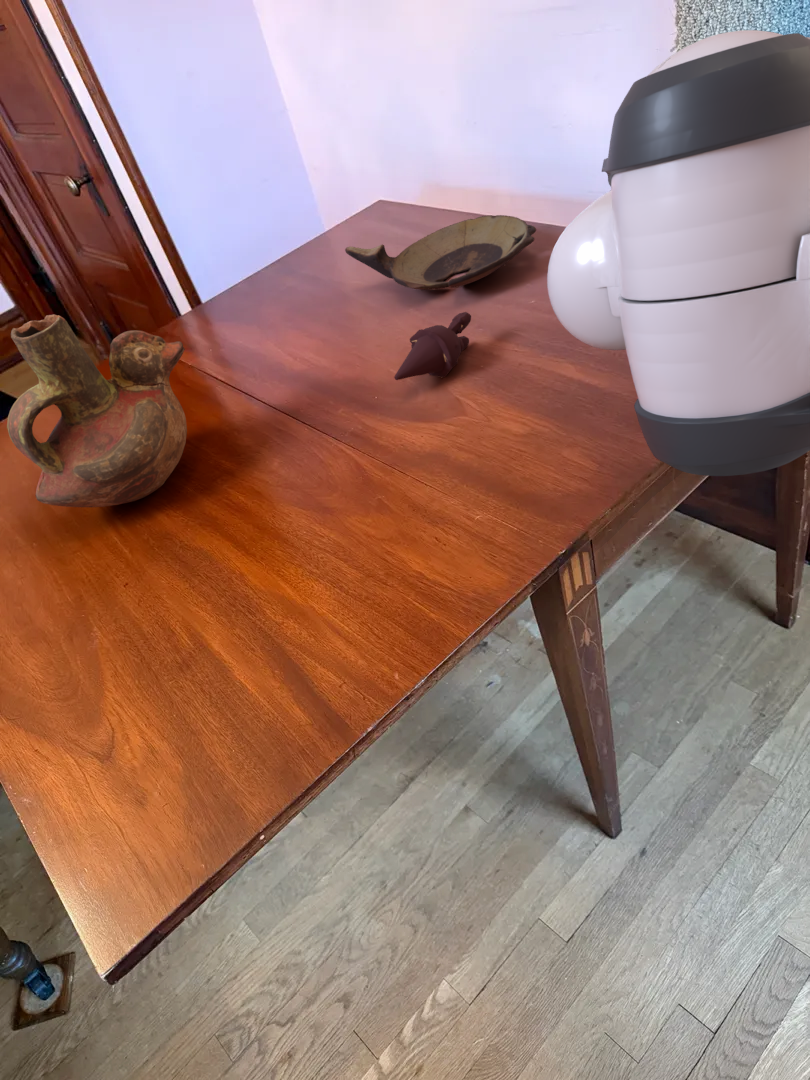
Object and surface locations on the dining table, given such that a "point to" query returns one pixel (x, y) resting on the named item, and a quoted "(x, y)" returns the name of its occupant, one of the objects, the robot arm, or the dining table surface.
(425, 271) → the olive ceramic shallow bowl
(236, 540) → the dining table surface
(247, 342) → the dining table surface
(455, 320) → the maroon pointed figurine
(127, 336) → the ceramic vessel
